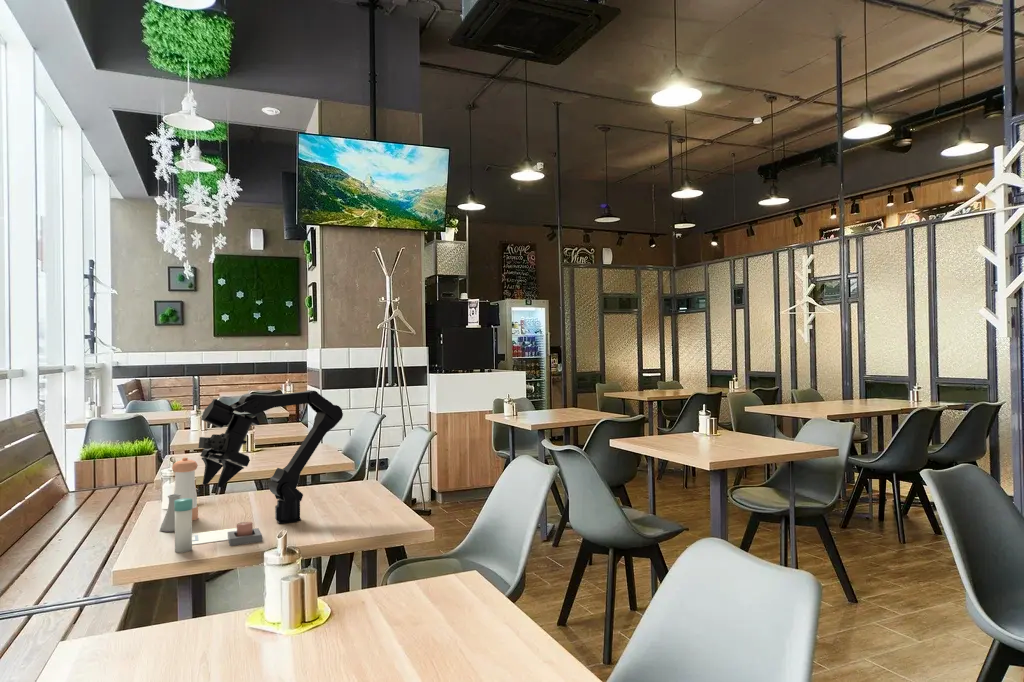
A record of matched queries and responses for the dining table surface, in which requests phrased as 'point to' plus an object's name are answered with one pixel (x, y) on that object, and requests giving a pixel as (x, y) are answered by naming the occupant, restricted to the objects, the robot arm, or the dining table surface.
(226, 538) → the paper
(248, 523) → the button
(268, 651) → the dining table surface
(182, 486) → the pepper shaker
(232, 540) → the button collar
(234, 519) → the dining table surface
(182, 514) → the marker
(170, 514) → the flask
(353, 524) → the dining table surface
